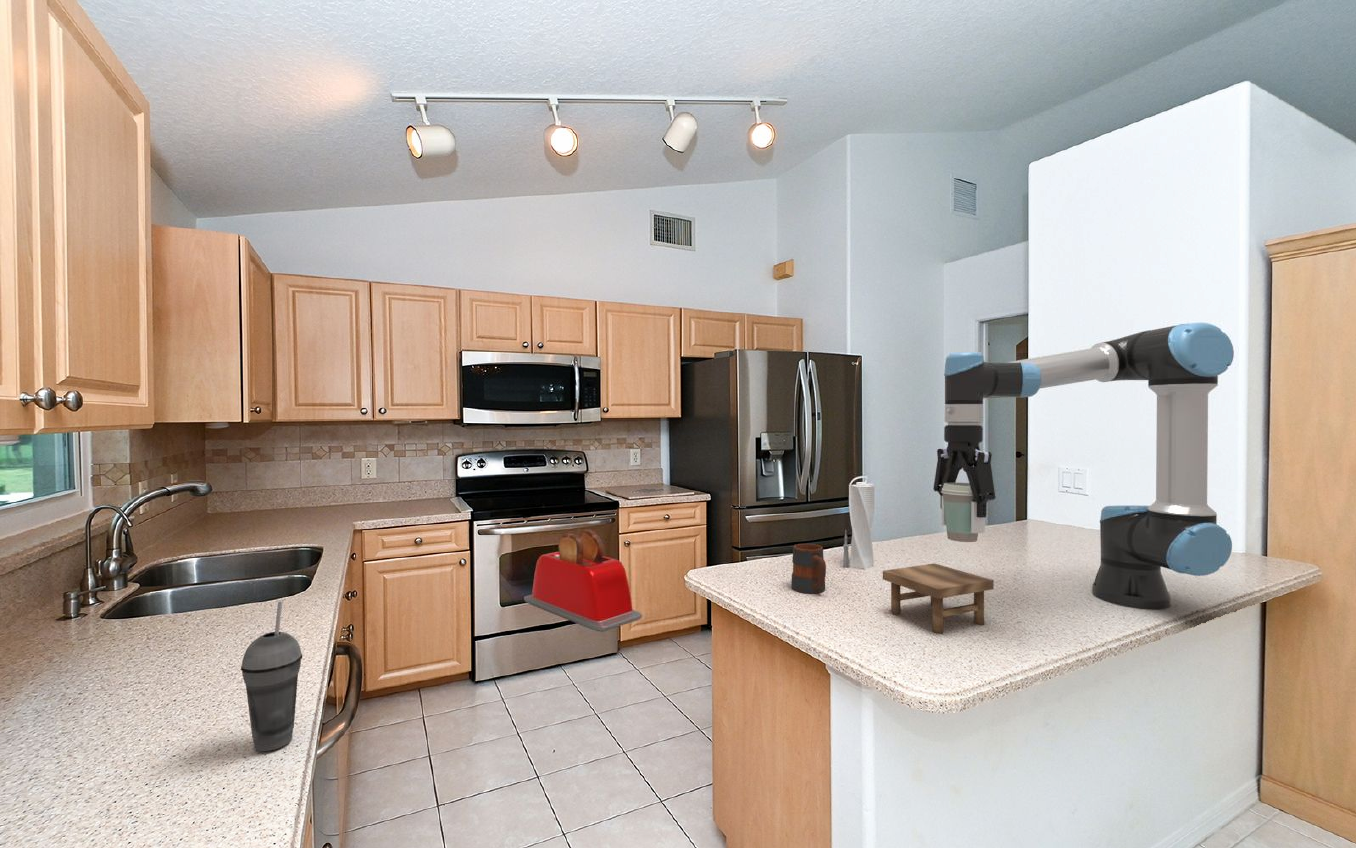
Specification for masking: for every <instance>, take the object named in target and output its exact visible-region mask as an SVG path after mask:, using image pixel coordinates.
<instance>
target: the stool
mask: <svg viewBox="0 0 1356 848" xmlns="http://www.w3.org/2000/svg"><path fill="white" fill-rule="evenodd" d="M882 580H883V581H886V582H889V583H890V590H891V591H890V595H891V596H890V606H891V607H890V608H891V609H890V611H891V612H890V613H891V614H892V615H895V616H898V615H901V601H907V600H912V599H914V600H915V599H919V598H925V597H930V606H931V607H932V632H933V634H937V635H943V634H944V618H945V617H950V616H955V615H961V614H966V613H971V612H973V624H975V625H978V626H984V625H985V592H987V591H992V590H994V587H995V586H994V585H995V584H994V579H991V578H988V577H984V576H981V575H976V574H973V573H970V572H966V571H962V570H961V569H960V570H959V569H956V568H952V567H949V566H945V565H943V564H942V565H941V564H939V563H927V564H919V565H913V566H907V567H900V568H893V569H886V570H882ZM901 587H903V588H906V589H909V590H912V591H910V592H909V591H908V592H903V593H901ZM969 594H973V603H969V604H965V605H959V606H953V607H947V608H944V599H947V598H951V597H958V596H964V595H969Z"/></svg>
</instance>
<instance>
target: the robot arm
mask: <svg viewBox="0 0 1356 848" xmlns="http://www.w3.org/2000/svg"><path fill="white" fill-rule="evenodd" d="M1234 354H1235V351H1234V345H1233V343H1232V340H1231V339H1230V337H1229V336H1228V334H1227V333H1226V332H1223V331H1222V329H1221V328H1220V327H1218V326H1216V325H1214V324H1212V323H1208V322H1193V323H1189V322H1188V323H1180V324H1177V325H1171V326H1166V327H1162V328H1161V327H1160V328H1157V329H1152V330H1151V329H1150V330H1144V331H1141V332H1140V331H1139V332H1137V333H1133V334H1129V335H1126V336H1122V337H1120V338H1116V339H1111V340H1109V341H1103V342H1098V343H1095V344H1094V345H1092V346H1091V347H1090V348H1085V349H1080V350H1074V351H1068V352H1062V353H1055V354H1049V355H1043V356H1038V357H1032V358H1031V357H1030V358H1025V359H1024V358H1023V359H1019V360H1018V359H1017V360H1013V361H1007V362H987V361H985V357H984V354H983V353H981V352H978V351H977V352H976V351H962V352H953V353H949V354H948V355H947V356H946V358H945V364H944V374H943V375H944V422H945V423H947V424H946V425H945V426H944V427H943V428H944V429H943V430H944V431H943V433H944V434H943V435H944V436H943V439H944V442H946V443H947V447H946V448H938V449H937V450H936V455H937V463H936V468H935V475H934V482H933V491H934V492H937V493H938V495H940V496H939V497H940V503H939V504H940V510H941V511H940V513H941V521H940V522H941V523H940V525H941V526H946V520H945V511H944V502H943V493H941V492H942V488H943V485H944V483H957V479H958V475H959V474H960V470H963V472H965V474H966V477H967V480H968V483H970V486H971V490H972V493H973V496H974V499H973V500H972V501H973V502H971V533H978V534H983V533H986V529H985V527H986V525H985V524H986V520H985V518H987V508H988V507H987V506H988V505H987V504H988V502H989V501H994V500H995V499H996V493H995V492H996V491H995V485H994V476H993V470H992V465H991V464H992V455H993V454H992V452H991V451H982V450H981V448H980V444H981V443H982V442H983V439H984V437H983V434H984V427H983V426H982V425H980V424H982V423H983V422H984V399H1001V398H1017V399H1021V398H1030V397H1033V396H1034V395H1036V394H1037V393H1038V391H1039V390H1040V389H1044V388H1045V389H1047V388H1051V387H1056V386H1057V387H1059V386H1064V385H1069V384H1077V383H1083V382H1089V381H1094V380H1096V381H1097V382H1100V383H1108V382H1117V381H1147V383H1148V384H1147V387H1148V389H1150V390H1151V391H1152V392H1154V393H1155V395H1156V441H1155V442H1156V443H1155V446H1156V448H1155V449H1156V453H1155V454H1156V459H1155V461H1156V462H1155V465H1156V468H1155V471H1156V472H1155V476H1156V479H1155V501H1154V502H1153V503H1152V504H1150V505H1106V506H1104V507H1102V509H1101V512H1100V520H1099V527H1100V529H1099V530H1100V536H1099V537H1100V539H1099V540H1100V541H1099V542H1100V565H1099V568H1098V570H1097V573H1096V575H1095V579H1094V581H1093V583H1092V585H1091V594H1092V596H1094V597H1095V598H1097V599H1098V600H1101V601H1103V602H1106V603H1109V604H1113V605H1117V606H1121V607H1122V606H1123V607H1128V608H1134V609H1145V610H1147V609H1148V610H1162V609H1166V608H1169V607H1171V595H1170V593H1169V591H1168V588H1167V584H1166V582H1165V580H1164V577H1163V574H1162V569H1161V568H1164V569H1168V570H1171V571H1173V572H1176V573H1179V574H1183V575H1184V574H1185V575H1190V576H1195V577H1203V576H1208V575H1209V576H1210V575H1212V574H1214V573H1216V572H1218V571H1219V570H1220V569H1221V567H1224V566H1225V565H1226V564H1227V562H1228V561H1229V559H1230V556H1231V554H1232V551H1233V543H1232V542H1233V541H1232V538H1231V535H1230V534H1229V533H1227V529H1225V528H1224V527H1222V526H1220V525H1219V524H1217V520H1218V519H1217V518H1218V517H1217V516H1218V515H1217V511H1215V510H1214V509H1213V508H1212V507H1210V506H1209V504H1208V471H1209V470H1208V469H1209V468H1208V459H1209V458H1208V455H1209V453H1208V451H1209V450H1208V447H1209V446H1208V445H1209V444H1208V442H1209V441H1208V437H1209V394H1210V392H1211V391H1212V390H1214V389H1216V388H1217V386H1218V385H1219V376H1220V375H1222V374H1224V373H1225V372H1226V371H1227V370H1228V369H1229V367H1230V366H1232V364H1233V361H1234V357H1235V355H1234ZM980 494H981V496H980Z"/></svg>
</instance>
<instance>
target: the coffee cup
mask: <svg viewBox="0 0 1356 848" xmlns="http://www.w3.org/2000/svg"><path fill="white" fill-rule="evenodd" d="M941 493H943V502H944V511H945V520H946V525H945V527H946V535H947V539H948V540H949V541H954V542H958V543H959V542H960V543H961V542H962V543H975V542H977V541H978V537H979V533H971V502H973V501H972V500H973V499H974V496H973V493H972V490H971V486H970V483H969V482H955V483H944V485H943V488H942V492H941ZM980 496H981V494H980Z"/></svg>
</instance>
